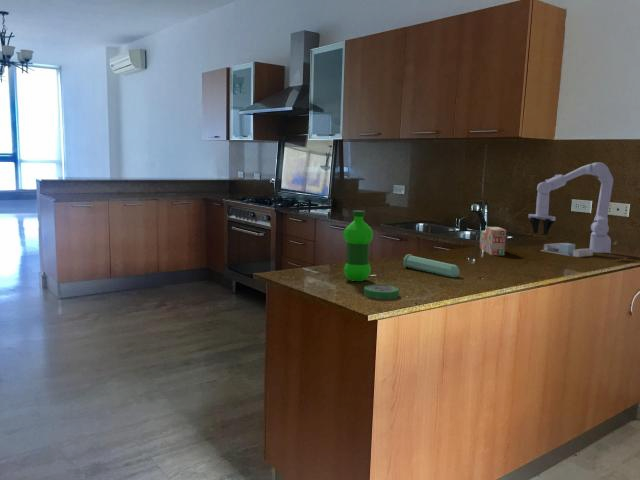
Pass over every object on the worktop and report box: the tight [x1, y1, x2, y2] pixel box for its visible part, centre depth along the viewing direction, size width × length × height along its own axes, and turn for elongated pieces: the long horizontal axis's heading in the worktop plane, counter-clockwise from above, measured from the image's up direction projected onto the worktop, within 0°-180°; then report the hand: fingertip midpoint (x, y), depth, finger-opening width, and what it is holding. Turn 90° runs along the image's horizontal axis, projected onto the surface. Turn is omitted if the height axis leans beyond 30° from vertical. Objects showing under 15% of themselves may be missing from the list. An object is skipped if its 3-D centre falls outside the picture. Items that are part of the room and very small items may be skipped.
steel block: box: [558, 242, 576, 254], centre depth 261 cm, size 5×5×4 cm
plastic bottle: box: [342, 210, 374, 281], centre depth 196 cm, size 10×10×25 cm
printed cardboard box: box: [479, 226, 507, 256], centre depth 267 cm, size 21×6×12 cm, turn 179°
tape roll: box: [363, 284, 400, 300], centre depth 176 cm, size 11×11×3 cm
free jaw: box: [542, 242, 560, 251], centre depth 268 cm, size 10×3×3 cm, turn 119°
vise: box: [540, 247, 594, 258], centre depth 261 cm, size 12×20×4 cm, turn 29°
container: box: [402, 253, 460, 278], centre depth 215 cm, size 6×6×25 cm
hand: (540, 233), depth 273 cm, fingers open, 5 cm apart
